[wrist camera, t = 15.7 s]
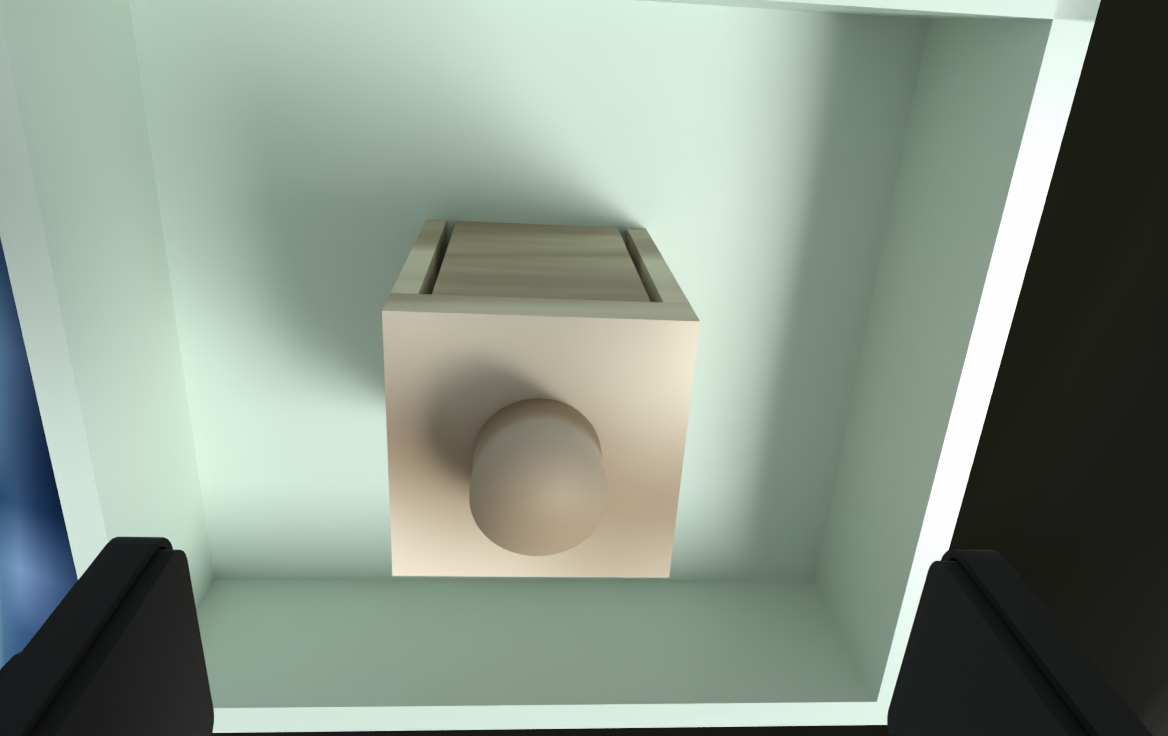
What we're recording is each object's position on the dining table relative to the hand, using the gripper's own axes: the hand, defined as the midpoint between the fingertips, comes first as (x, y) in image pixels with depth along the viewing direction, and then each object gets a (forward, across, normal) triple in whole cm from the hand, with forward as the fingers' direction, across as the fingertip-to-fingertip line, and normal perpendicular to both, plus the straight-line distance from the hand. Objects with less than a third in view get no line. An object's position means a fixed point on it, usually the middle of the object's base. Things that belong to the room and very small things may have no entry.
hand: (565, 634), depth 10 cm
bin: (+13, 0, +1) cm, 13 cm away
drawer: (+12, 0, +1) cm, 12 cm away
